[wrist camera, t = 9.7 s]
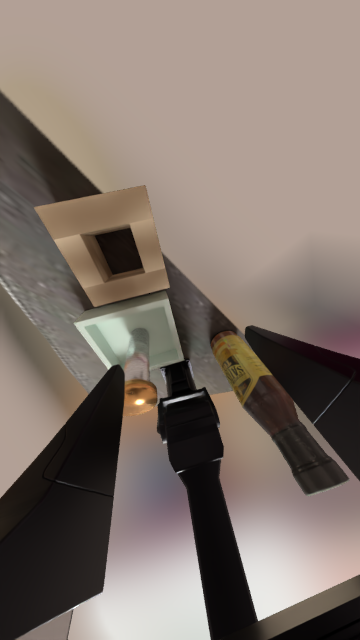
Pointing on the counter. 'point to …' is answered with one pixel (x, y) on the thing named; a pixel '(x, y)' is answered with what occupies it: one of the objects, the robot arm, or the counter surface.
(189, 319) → the counter surface
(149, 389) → the orange-capped jar
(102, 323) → the sage tray
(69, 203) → the block
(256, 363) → the sauce bottle
